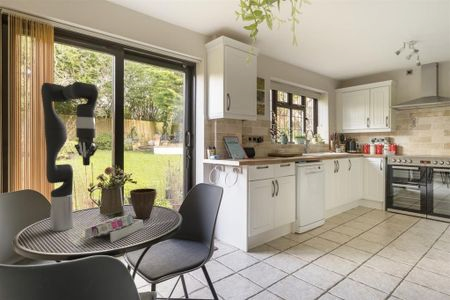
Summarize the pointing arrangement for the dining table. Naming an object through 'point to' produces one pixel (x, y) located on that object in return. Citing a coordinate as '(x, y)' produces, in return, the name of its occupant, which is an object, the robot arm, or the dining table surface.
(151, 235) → the dining table surface
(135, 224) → the grey bracket
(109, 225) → the candy bar box
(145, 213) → the plant pot
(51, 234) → the dining table surface
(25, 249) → the dining table surface
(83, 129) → the robot arm
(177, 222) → the dining table surface
